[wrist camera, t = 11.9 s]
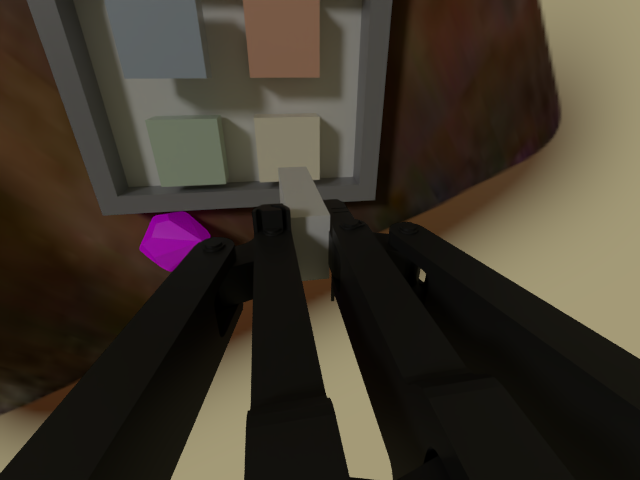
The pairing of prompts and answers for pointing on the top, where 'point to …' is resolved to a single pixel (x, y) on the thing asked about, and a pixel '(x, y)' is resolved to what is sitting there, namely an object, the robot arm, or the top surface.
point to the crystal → (172, 238)
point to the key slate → (160, 38)
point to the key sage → (188, 149)
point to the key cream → (287, 143)
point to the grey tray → (218, 104)
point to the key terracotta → (283, 38)
